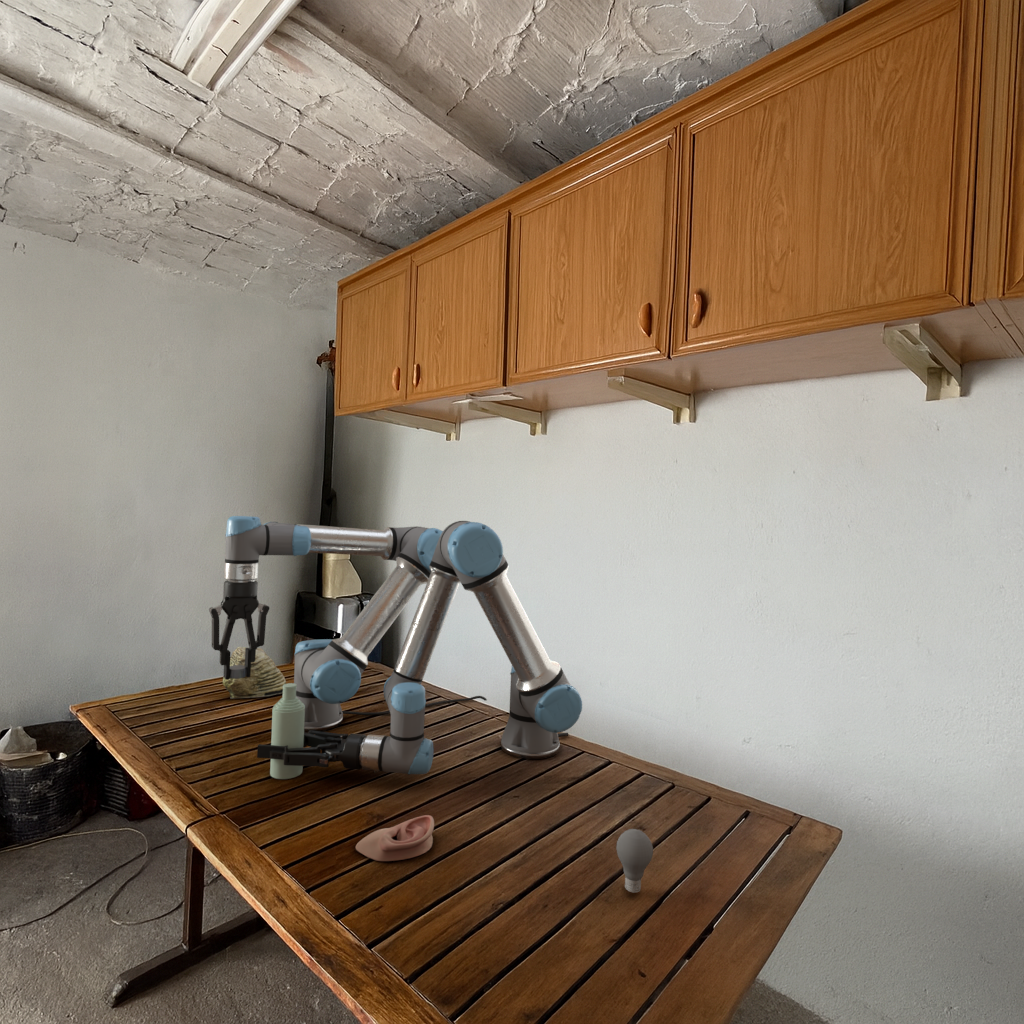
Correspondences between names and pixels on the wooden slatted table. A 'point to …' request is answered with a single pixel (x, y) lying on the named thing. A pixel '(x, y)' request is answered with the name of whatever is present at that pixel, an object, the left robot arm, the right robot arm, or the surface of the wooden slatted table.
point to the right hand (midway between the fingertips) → (266, 744)
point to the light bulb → (634, 857)
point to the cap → (238, 671)
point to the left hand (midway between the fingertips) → (236, 676)
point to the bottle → (287, 730)
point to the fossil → (255, 676)
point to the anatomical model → (399, 840)
